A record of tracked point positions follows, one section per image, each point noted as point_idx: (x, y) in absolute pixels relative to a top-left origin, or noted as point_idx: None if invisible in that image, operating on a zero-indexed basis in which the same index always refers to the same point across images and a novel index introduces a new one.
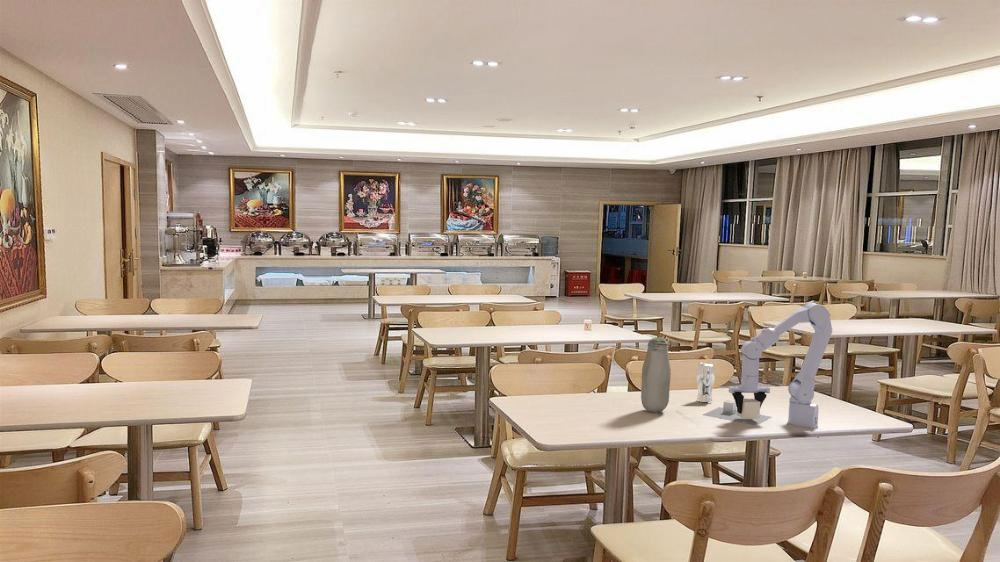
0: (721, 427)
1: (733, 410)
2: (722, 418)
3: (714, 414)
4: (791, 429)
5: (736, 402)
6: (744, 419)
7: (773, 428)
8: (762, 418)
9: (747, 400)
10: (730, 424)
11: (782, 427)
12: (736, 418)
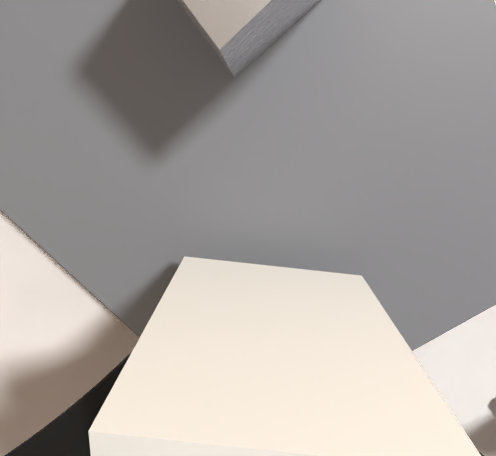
0: (5, 363)
1: (254, 51)
2: (42, 242)
3: (2, 71)
4: (485, 453)
5: (69, 435)
6: None
7: None
8: (448, 285)
9: (323, 438)
10: (104, 305)
11: (463, 412)
12: (185, 255)
